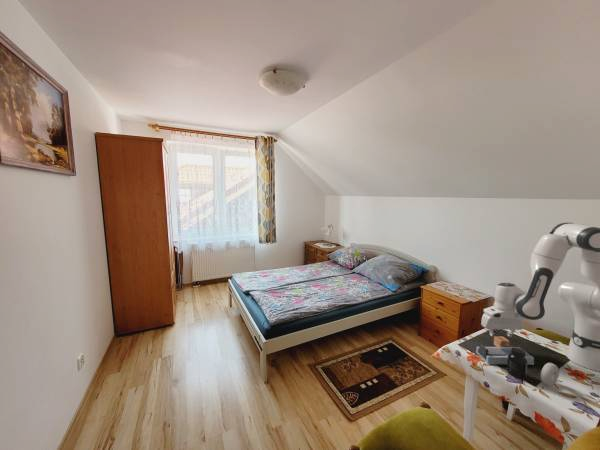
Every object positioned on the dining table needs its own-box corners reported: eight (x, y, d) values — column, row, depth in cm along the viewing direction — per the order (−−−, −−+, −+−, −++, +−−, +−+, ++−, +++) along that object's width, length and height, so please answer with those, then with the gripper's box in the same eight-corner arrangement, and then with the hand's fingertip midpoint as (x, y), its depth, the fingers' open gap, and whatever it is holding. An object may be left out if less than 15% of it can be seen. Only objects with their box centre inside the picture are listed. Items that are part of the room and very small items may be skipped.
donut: (548, 391, 101) (550, 369, 100) (537, 385, 104) (539, 364, 103) (559, 383, 105) (561, 363, 104) (548, 378, 108) (551, 358, 107)
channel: (518, 352, 126) (518, 346, 126) (534, 364, 117) (534, 358, 117) (475, 352, 127) (476, 346, 127) (488, 364, 118) (488, 357, 118)
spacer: (501, 344, 133) (502, 336, 133) (508, 349, 129) (509, 341, 128) (493, 344, 133) (494, 336, 133) (499, 349, 129) (500, 341, 128)
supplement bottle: (530, 380, 107) (532, 356, 106) (512, 378, 109) (514, 354, 107) (519, 369, 114) (521, 346, 112) (503, 368, 115) (505, 345, 114)
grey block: (498, 353, 124) (499, 344, 124) (505, 359, 120) (506, 350, 119) (478, 353, 125) (479, 344, 124) (485, 358, 120) (485, 350, 120)
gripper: (517, 309, 131) (514, 333, 133) (480, 309, 132) (478, 332, 133) (528, 315, 125) (525, 339, 126) (489, 314, 125) (486, 338, 127)
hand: (500, 336), depth 130 cm, fingers open, 8 cm apart
